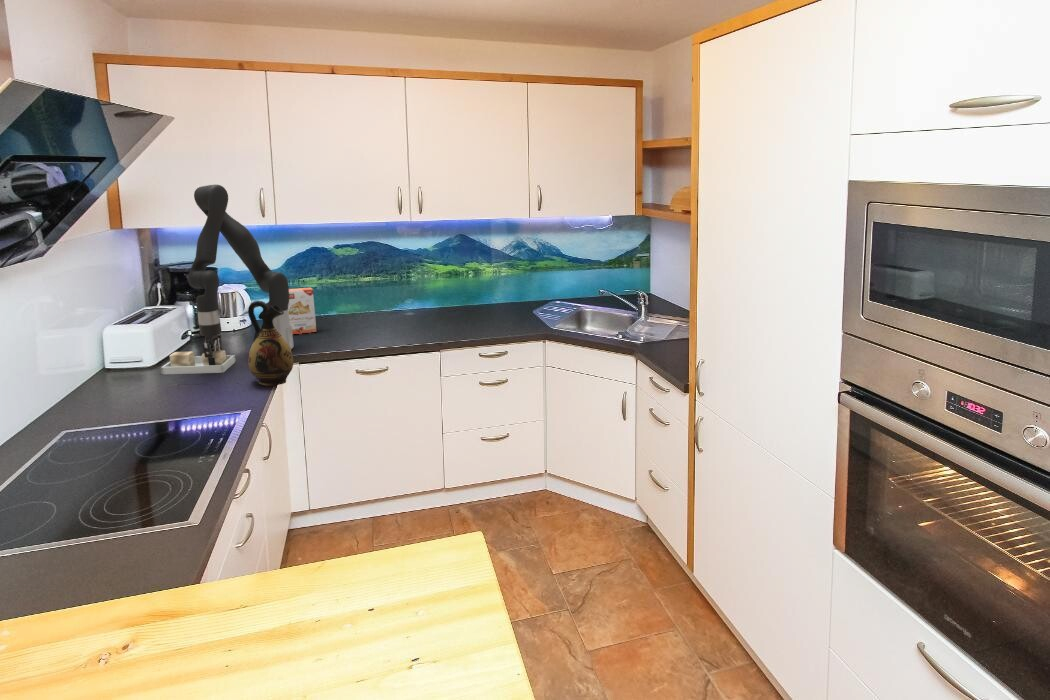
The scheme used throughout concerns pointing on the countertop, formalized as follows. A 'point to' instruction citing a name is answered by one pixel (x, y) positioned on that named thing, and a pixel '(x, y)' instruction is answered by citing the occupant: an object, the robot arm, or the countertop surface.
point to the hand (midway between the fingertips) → (215, 364)
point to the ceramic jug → (268, 348)
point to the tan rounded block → (182, 359)
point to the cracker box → (301, 310)
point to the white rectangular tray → (198, 367)
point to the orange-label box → (219, 358)
